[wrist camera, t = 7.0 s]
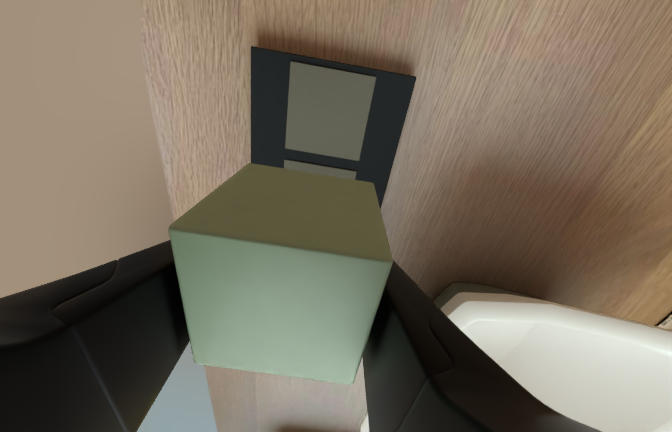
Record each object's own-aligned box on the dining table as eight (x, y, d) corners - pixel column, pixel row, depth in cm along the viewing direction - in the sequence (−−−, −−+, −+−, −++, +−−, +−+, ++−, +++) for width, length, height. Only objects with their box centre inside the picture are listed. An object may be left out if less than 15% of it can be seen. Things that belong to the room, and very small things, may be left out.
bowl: (511, 398, 32) (559, 492, 25) (340, 363, 30) (338, 455, 23) (655, 271, 22) (810, 366, 15) (411, 207, 20) (449, 280, 13)
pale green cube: (250, 262, 11) (192, 365, 7) (248, 161, 9) (164, 226, 5) (352, 277, 11) (353, 386, 7) (374, 182, 9) (394, 261, 5)
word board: (254, 325, 28) (234, 375, 23) (256, 47, 16) (215, 32, 11) (343, 338, 28) (341, 389, 23) (413, 77, 16) (440, 74, 11)
